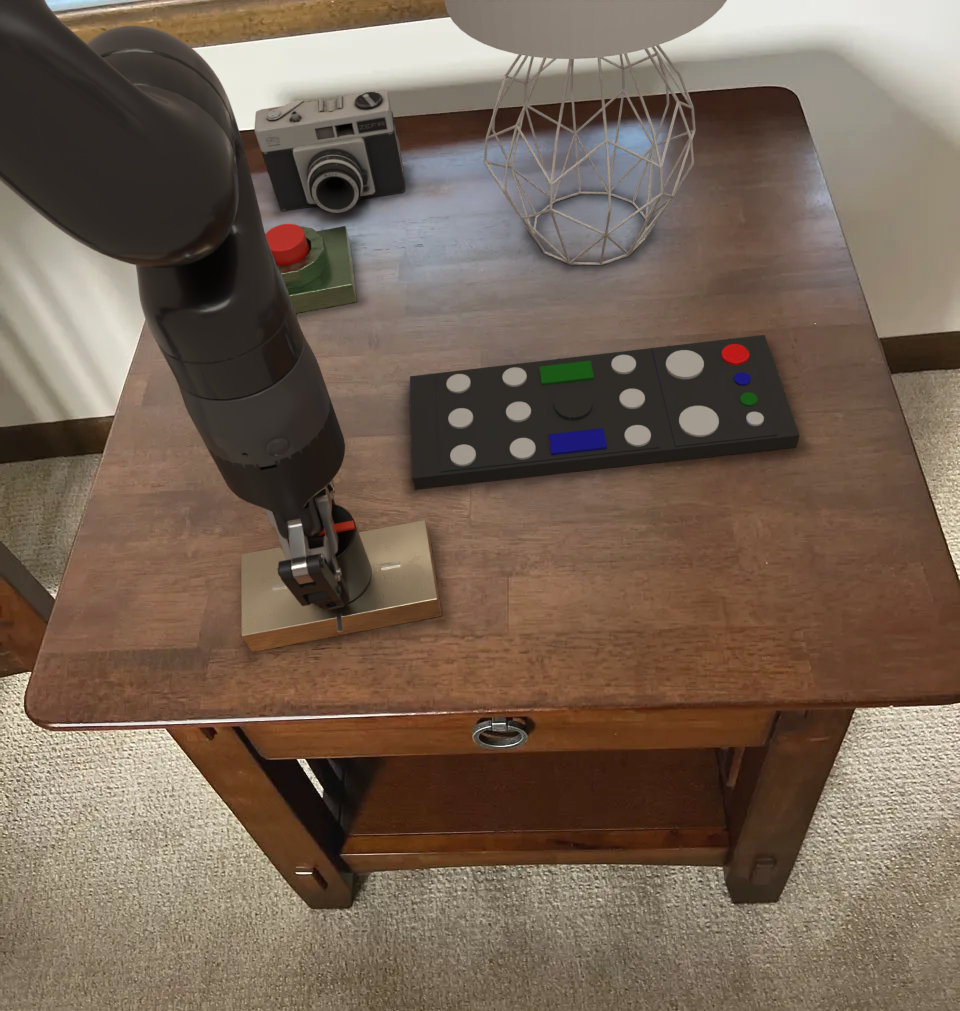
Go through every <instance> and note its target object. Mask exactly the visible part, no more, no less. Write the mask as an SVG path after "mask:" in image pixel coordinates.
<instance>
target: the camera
mask: <svg viewBox="0 0 960 1011" xmlns="http://www.w3.org/2000/svg"><path fill="white" fill-rule="evenodd" d="M254 134H255V136H256V139H257V143H258V146H259V149H260V153H261V156H262V159H263V162H264V165H265V168H266V171H267V173H268V177H269V180H270V183H271V186H272V189H273V192H274V195H275V198H276V201H277V204H278V207H279V210H280V211H281V212H284V211H285V212H286V211H293V210H298V209H304V208H312V207H319V208H320V209H322V210H323V211H326V212H329V213H333V214H334V213H335V214H337V213H338V214H339V213H344V212H347V211H349V210H351V209H353V207H355V206H356V205H357V204H358V202H359V200H364V199H370V198H377V197H383V196H389V195H395V194H400V193H401V194H402V193H405V191H406V181H405V170H404V169H405V168H404V165H403V159H402V151H401V145H400V140H399V136H398V132H397V129H396V123H395V118H394V113H393V111H392V107H391V101H390V97H389V92H388V90H386V89H379V90H374V91H365V92H361V93H355V94H348V95H343V96H342V95H341V94H339V95H336V98H335V99H330V100H324V97H320V98H319V99H318V100H311V99H307V100H303V99H301V100H294V101H291V102H289V103H287V104H285V105H281V106H280V105H279V106H274V107H268V108H262V109H258V110H257V111H255V118H254Z"/></svg>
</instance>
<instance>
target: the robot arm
mask: <svg viewBox="0 0 960 1011" xmlns="http://www.w3.org/2000/svg"><path fill="white" fill-rule="evenodd" d="M233 110H234V109H233V107H232V105H231V101H230V98H229V96H228V94H227V92H226V89H225V88H224V86H223V84H222V82H221V80H220V78H219V77H218V75H217V74H216V73H215V71H214V69H213V68H212V67H211V66H210V64H209V63H208V62H207V61H206V60H205V59H204V58H203V57H202V55H200V54H199V53H198V52H197V50H195V49H193V48H192V47H191V46H190V45H189V44H187V43H186V42H184V41H183V40H181V39H179V38H178V37H176V36H174V35H172V34H170V33H168V32H165V31H163V30H160V29H157V28H154V27H149V26H143V25H124V26H123V25H122V26H117V27H114V28H109V29H107V30H105V31H102V32H101V33H99V34H97V35H95V36H94V37H92V38H91V39H90V40H88V41H87V42H85V40H84V39H82V38H81V37H80V36H78V35H77V34H76V33H75V32H74V31H73V30H72V29H71V28H69V26H67V25H66V24H65V23H64V22H63V21H62V20H61V19H60V18H59V17H58V16H57V15H56V14H55V13H54V11H53V10H52V9H51V8H50V7H49V5H48V3H47V1H46V0H0V182H1V183H2V184H3V185H4V186H6V187H7V188H8V189H9V190H10V191H11V192H13V194H15V195H16V196H17V197H19V199H20V200H22V201H23V202H24V203H25V204H26V205H28V206H29V207H30V208H31V209H33V211H35V212H36V213H38V214H39V215H40V216H41V217H43V218H44V219H45V220H46V221H48V223H50V224H51V225H52V226H54V227H55V228H57V229H58V230H60V231H61V232H63V233H64V234H65V235H67V236H68V237H70V238H72V239H73V240H75V241H76V242H78V243H80V244H82V245H83V246H85V247H87V248H89V249H91V250H92V251H95V252H97V253H99V254H101V255H103V256H106V257H108V258H111V259H113V260H117V261H119V262H122V263H126V264H128V265H129V264H130V265H133V266H135V269H136V277H137V288H138V295H139V302H140V306H141V310H142V312H143V316H144V319H145V322H146V324H147V327H148V329H149V331H150V333H151V335H152V338H153V339H154V341H155V343H156V345H157V346H158V348H159V351H160V353H161V354H162V356H163V358H164V360H165V361H166V363H167V365H168V368H169V369H170V371H171V373H172V375H173V376H174V379H175V381H176V383H177V385H178V388H179V392H180V394H181V397H182V400H183V403H184V407H185V409H186V411H187V413H188V415H189V417H190V419H191V421H192V423H193V425H194V427H195V428H196V430H197V432H198V434H199V436H200V437H201V439H202V441H203V443H204V445H205V447H206V449H207V451H208V453H209V455H210V456H211V458H212V460H213V462H214V464H215V465H216V468H217V469H218V471H219V473H220V475H221V477H222V479H223V481H224V482H225V484H226V486H227V487H228V488H229V490H230V491H231V492H232V493H233V494H234V495H235V496H236V497H238V498H239V499H241V500H242V501H244V502H246V503H249V504H251V505H254V506H257V507H260V508H261V509H264V510H265V514H266V516H267V520H268V523H269V525H270V526H271V527H273V528H274V529H275V532H276V534H277V537H278V538H277V539H278V540H279V544H281V545H280V547H282V550H283V553H284V556H285V559H286V560H284V561H279V563H278V575H279V576H280V578H281V580H282V581H283V583H284V584H285V585H286V586H287V588H288V589H289V590H290V592H291V593H292V594H293V595H294V597H295V598H296V599H297V600H298V602H299V603H300V604H301V605H302V606H307V605H310V604H313V603H317V604H318V606H319V607H320V608H322V609H323V610H329V609H335V608H340V607H344V605H346V604H348V603H349V602H350V596H349V591H348V588H347V586H346V584H345V581H344V579H343V576H342V573H341V568H339V566H338V563H337V559H336V556H335V554H336V553H337V551H338V535H337V532H336V528H335V525H334V521H333V518H332V514H331V511H332V504H336V502H335V494H336V490H335V485H334V484H335V483H334V479H335V477H336V476H337V474H338V473H339V472H340V470H341V467H342V465H343V462H344V459H345V454H346V442H345V438H344V434H343V431H342V429H341V426H340V423H339V419H338V417H337V414H336V411H335V408H334V406H333V402H332V400H331V396H330V392H329V391H328V388H327V384H326V382H325V378H324V376H323V373H322V370H321V368H320V365H319V361H318V359H317V357H316V355H315V353H314V351H313V349H312V348H311V346H310V344H309V342H308V340H307V339H306V336H305V335H304V332H303V330H302V328H301V325H300V322H299V319H298V317H297V313H295V310H294V308H293V305H292V302H291V299H290V296H289V293H288V290H287V288H286V285H285V283H284V280H283V278H282V276H281V274H280V271H279V269H278V267H277V265H276V263H275V260H274V257H273V255H272V252H271V249H270V247H269V244H268V241H267V238H266V235H265V234H266V231H265V228H264V223H263V219H262V215H261V210H260V206H259V202H258V198H257V194H256V190H255V186H254V182H253V177H252V173H251V169H250V165H249V161H248V159H247V155H246V151H245V147H244V143H243V140H242V137H241V133H240V128H239V126H238V123H237V119H236V116H235V113H234V111H233ZM323 529H324V531H325V534H326V535H325V536H323V537H318V538H313V539H307V537H312V536H317V535H319V534H320V533H321V532H322V531H323ZM324 558H325V559H326V562H327V564H326V563H325V561H324Z"/></svg>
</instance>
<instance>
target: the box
mask: <svg viewBox="0 0 960 1011" xmlns="http://www.w3.org/2000/svg"><path fill="white" fill-rule="evenodd" d="M300 227H301V228H302V229H303V230H304V233H305V236H306V239H307V242H308V246H309V252H308V254H307V256H306V257H305V258H304V259H302V260H300V261H299V262H297V263H295V264H290V265H284V266H279V265H277V267H278V269H279V271H280V274H281V276H282V278H283V280H284V283H285V285H286V288H287V290H288V293H289V296H290V299H291V302H292V305H293V308H294V310H295V313H296V314H299V313H305V312H309V311H315V310H320V309H321V310H322V309H326V308H331V307H335V306H337V307H338V306H342V305H347V304H353V303H357V301H358V299H357V290H356V281H355V276H354V275H355V273H354V265H353V256H352V248H351V241H350V237H349V234H348V230H347V226H346V225H342V226H338V227H333V228H327V229H321V230H315V229H314V228H312V227H305V226H300Z"/></svg>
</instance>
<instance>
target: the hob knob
mask: <svg viewBox="0 0 960 1011" xmlns="http://www.w3.org/2000/svg"><path fill="white" fill-rule="evenodd" d="M331 514H332V518H333V521H334V525H335V528H336V532H337V535H338V551H337V553H336V554H335V556H336V559H337V563H338V566H339V568H341V573H342V576H343V579H344V581H345V584H346V586H347V588H348V591H349V596H350V601H352V600H354V599H355V598H357V597H358V596H359V595H360V594H361V593H362V592H363V591H364V590H365V588H366V587H367V585H368V583H369V580H370V577H371V565H370V562H369V559H368V556H367V554H366V551H365V548H364V546H363V543H362V540H361V538H360V535H359V532H360V531H359V530H358V527H357V525H356V521H355V519H354V517H353V515H352V514H351V513H350V512H349V511H348V510H347V509H346V508H344V507H343V506H341V505H339V504H336V503H335V504H332V511H331ZM325 535H326V534H325V531H324V529H323V531H322V532H321V533H320V534H319V535H317V536H312V537H307V539H313V538H318V537H323V536H325ZM279 544H280V543H279ZM280 547H281V544H280ZM281 548H282V547H281ZM282 551H283V550H282ZM324 561H325V563H326V564H327V562H326V559H325V558H324ZM316 604H317V603H316Z"/></svg>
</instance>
